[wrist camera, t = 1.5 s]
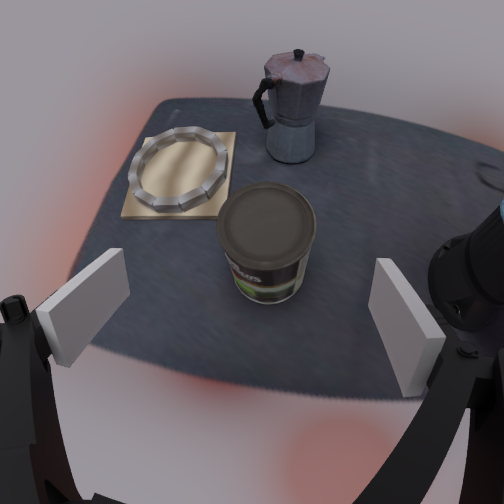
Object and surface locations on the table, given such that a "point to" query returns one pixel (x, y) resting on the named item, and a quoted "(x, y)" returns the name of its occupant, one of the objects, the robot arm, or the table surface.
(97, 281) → the robot arm
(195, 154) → the ring board
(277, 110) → the moka pot
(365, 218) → the table surface
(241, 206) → the coffee can
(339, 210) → the table surface
